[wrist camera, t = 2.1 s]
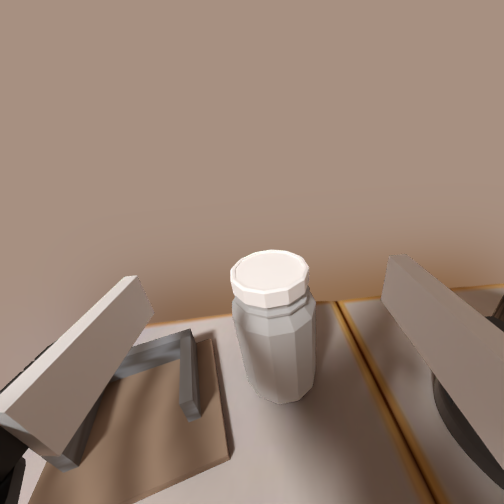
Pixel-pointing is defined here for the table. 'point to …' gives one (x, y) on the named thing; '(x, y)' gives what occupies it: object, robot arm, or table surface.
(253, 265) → the jar
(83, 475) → the mounting board
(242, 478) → the table surface
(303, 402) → the table surface
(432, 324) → the robot arm
